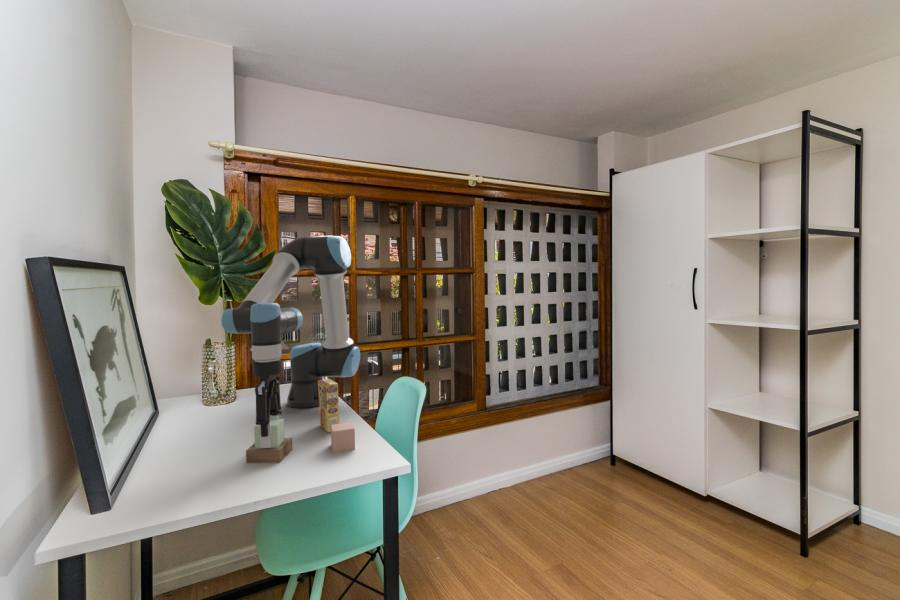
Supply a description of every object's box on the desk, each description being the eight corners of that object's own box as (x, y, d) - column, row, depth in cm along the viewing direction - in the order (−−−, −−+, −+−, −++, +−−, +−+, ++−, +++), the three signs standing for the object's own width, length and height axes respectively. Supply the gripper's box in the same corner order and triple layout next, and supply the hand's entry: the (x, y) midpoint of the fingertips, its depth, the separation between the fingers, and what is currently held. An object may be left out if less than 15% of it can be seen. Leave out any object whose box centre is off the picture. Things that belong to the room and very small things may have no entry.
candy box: (340, 430, 142) (338, 383, 141) (327, 433, 140) (325, 385, 139) (331, 423, 150) (329, 378, 149) (318, 425, 147) (317, 379, 146)
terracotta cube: (331, 444, 130) (330, 424, 130) (352, 442, 132) (351, 422, 132) (333, 452, 124) (332, 431, 124) (355, 449, 127) (354, 428, 126)
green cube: (262, 440, 125) (261, 419, 125) (284, 439, 126) (283, 418, 125) (255, 448, 119) (254, 426, 119) (277, 447, 120) (277, 425, 119)
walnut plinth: (261, 451, 127) (260, 438, 127) (292, 451, 127) (292, 437, 127) (246, 465, 118) (245, 450, 118) (280, 464, 118) (279, 450, 118)
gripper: (264, 354, 130) (267, 431, 132) (239, 366, 112) (242, 457, 113) (290, 353, 131) (293, 430, 132) (270, 365, 112) (273, 455, 113)
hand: (270, 442), depth 122 cm, fingers closed on green cube, 6 cm apart
